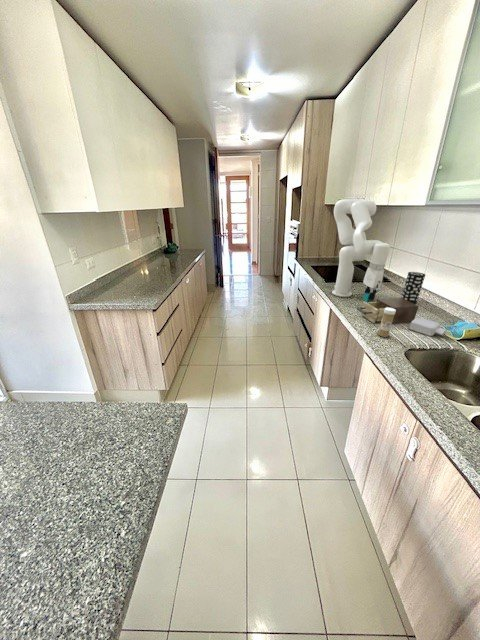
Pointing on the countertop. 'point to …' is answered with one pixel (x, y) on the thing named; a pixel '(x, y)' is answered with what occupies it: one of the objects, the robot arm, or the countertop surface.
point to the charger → (427, 327)
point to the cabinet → (401, 309)
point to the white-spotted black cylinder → (413, 286)
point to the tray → (372, 310)
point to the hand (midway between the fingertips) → (368, 297)
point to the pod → (367, 298)
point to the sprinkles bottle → (386, 322)
